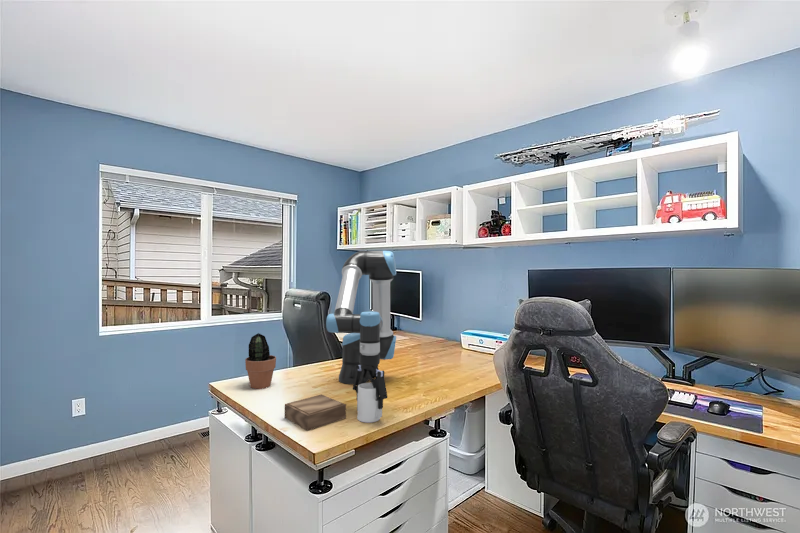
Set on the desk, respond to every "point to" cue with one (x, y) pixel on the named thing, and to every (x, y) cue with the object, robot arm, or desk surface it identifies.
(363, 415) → the mug
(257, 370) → the potted plant
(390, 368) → the desk surface
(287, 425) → the desk surface
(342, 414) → the tray
